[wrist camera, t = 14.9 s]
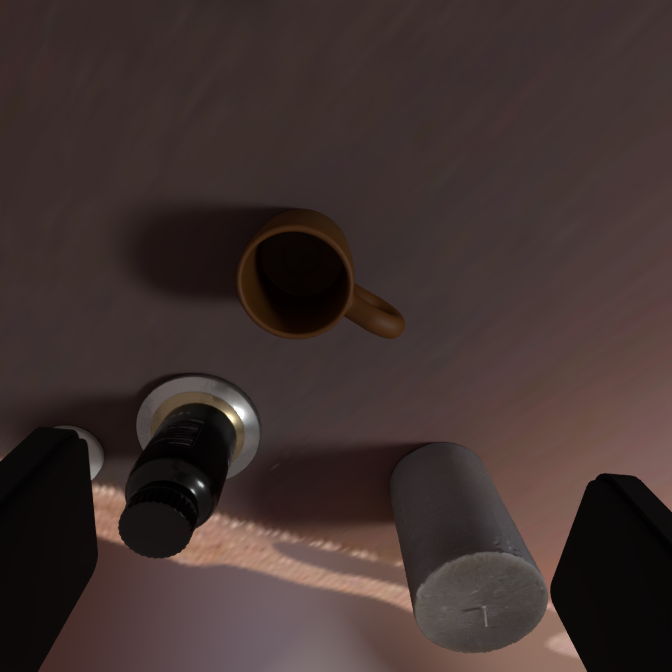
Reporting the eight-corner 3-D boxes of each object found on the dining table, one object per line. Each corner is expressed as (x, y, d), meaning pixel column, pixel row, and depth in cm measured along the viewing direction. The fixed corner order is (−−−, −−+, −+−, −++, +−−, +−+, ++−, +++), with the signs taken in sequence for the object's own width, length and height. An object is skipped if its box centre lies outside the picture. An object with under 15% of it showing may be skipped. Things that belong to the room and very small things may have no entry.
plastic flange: (35, 422, 42) (27, 429, 41) (102, 427, 43) (96, 435, 42) (42, 476, 44) (35, 484, 43) (106, 481, 45) (100, 489, 44)
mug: (413, 260, 38) (440, 291, 29) (368, 338, 40) (379, 388, 31) (280, 189, 36) (264, 198, 27) (240, 275, 38) (213, 310, 29)
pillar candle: (468, 528, 48) (529, 680, 34) (376, 514, 47) (400, 663, 33) (500, 449, 44) (582, 580, 30) (402, 431, 44) (440, 558, 29)
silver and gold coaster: (138, 367, 41) (132, 373, 39) (264, 378, 41) (262, 385, 40) (142, 471, 44) (138, 479, 43) (258, 480, 45) (256, 488, 44)
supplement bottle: (248, 456, 43) (220, 562, 31) (177, 471, 43) (125, 580, 32) (224, 391, 40) (185, 480, 29) (150, 408, 41) (83, 502, 29)
